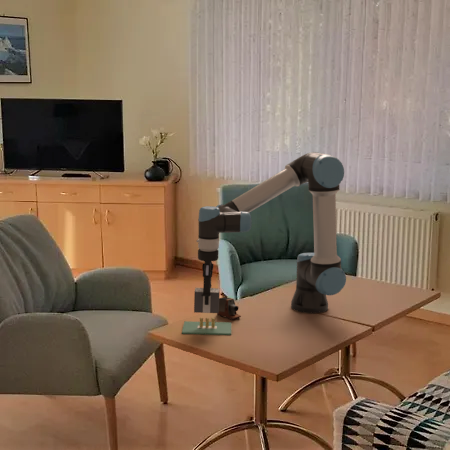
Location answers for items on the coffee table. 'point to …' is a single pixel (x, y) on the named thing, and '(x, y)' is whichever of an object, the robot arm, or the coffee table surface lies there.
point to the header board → (207, 327)
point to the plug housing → (213, 302)
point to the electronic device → (228, 308)
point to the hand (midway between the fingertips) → (206, 310)
